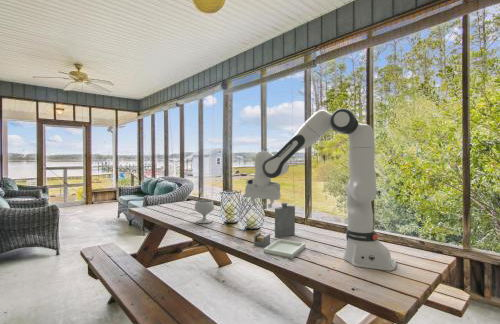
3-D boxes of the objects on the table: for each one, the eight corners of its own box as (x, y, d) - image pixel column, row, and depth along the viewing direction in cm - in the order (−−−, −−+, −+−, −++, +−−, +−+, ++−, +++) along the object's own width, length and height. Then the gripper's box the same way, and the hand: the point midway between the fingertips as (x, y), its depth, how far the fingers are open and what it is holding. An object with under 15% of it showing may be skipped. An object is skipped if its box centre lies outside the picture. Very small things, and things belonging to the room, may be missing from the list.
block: (267, 243, 151) (267, 236, 151) (263, 246, 148) (263, 238, 148) (260, 242, 153) (260, 235, 153) (257, 244, 150) (257, 237, 150)
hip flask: (277, 238, 162) (277, 205, 162) (272, 237, 166) (272, 204, 165) (295, 234, 172) (296, 202, 172) (290, 232, 175) (291, 201, 175)
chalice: (216, 220, 208) (216, 200, 207) (209, 224, 194) (209, 203, 194) (199, 219, 211) (199, 199, 211) (191, 223, 197) (191, 202, 197)
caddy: (270, 245, 152) (270, 234, 152) (264, 248, 146) (264, 237, 146) (259, 243, 155) (259, 232, 155) (254, 246, 150) (254, 235, 149)
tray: (305, 247, 147) (305, 243, 147) (291, 259, 131) (291, 254, 131) (279, 243, 155) (279, 238, 155) (263, 253, 138) (263, 248, 138)
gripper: (282, 181, 147) (282, 207, 148) (249, 179, 158) (249, 203, 158) (277, 182, 142) (277, 209, 142) (243, 180, 152) (243, 205, 153)
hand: (262, 206), depth 150 cm, fingers open, 8 cm apart
